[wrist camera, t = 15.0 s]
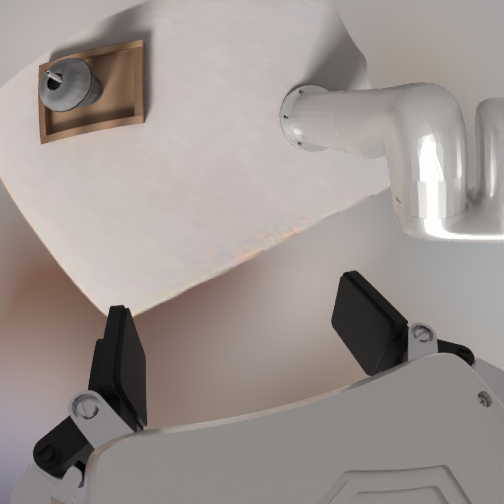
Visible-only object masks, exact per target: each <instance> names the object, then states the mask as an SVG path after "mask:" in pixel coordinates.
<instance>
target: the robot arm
mask: <svg viewBox="0 0 504 504" xmlns="http://www.w3.org/2000/svg"><path fill="white" fill-rule="evenodd" d="M299 91H300V93H299ZM284 115H285V116H286V117H285V118H284ZM280 122H281V127H282V130H283V132H284V134H285V136H286V137H287V139H288V140H289V141H290V142H291V143H292V144H293V145H295V146H296V147H298V148H300V149H303V150H306V151H310V152H317V151H322V150H325V149H327V148H331V149H334V150H338V151H341V152H345V153H348V154H352V155H355V156H359V157H362V158H367V159H374V158H379V157H382V156H385V155H386V158H387V165H388V169H389V175H390V182H391V190H392V199H393V207H394V214H395V218H396V221H397V223H398V225H399V226H400V228H401V229H402V230H403V231H404V232H406V233H407V234H409V235H410V236H412V237H415V238H418V239H422V240H428V241H437V242H471V243H504V98H490V99H486V100H484V101H482V102H480V103H479V105H478V107H477V109H476V114H475V136H476V163H477V179H476V186H475V187H473V188H470V189H468V149H467V135H466V128H465V122H464V118H463V114H462V111H461V108H460V106H459V104H458V102H457V100H456V99H455V97H454V96H453V95H452V93H451V92H450V91H448V90H447V89H446V88H444V87H442V86H440V85H437V84H434V83H425V82H420V83H410V84H404V85H399V86H395V87H389V88H382V89H368V90H344V91H328V90H327V89H325V88H323V87H320V86H316V85H307V86H302V87H299V88H297V89H295V90H293V91H292V92H291V93H290V94H288V96H287V97H286V98H285V100H284V102H283V104H282V107H281V111H280ZM298 142H299V144H298ZM331 323H332V326H333V328H334V329H335V330H336V332H337V333H338V335H339V336H340V337H341V339H342V340H343V342H344V343H345V345H346V346H347V347H348V349H349V350H350V351H351V353H352V354H353V356H354V357H355V359H356V360H357V361H358V363H359V364H360V366H361V367H362V369H363V370H364V371H365V373H366V374H367V375H370V376H371V377H368V378H366V379H363V380H361V381H358V382H356V383H353V384H350V385H347V386H345V387H342V388H339V389H336V390H333V391H330V392H327V393H324V394H321V395H318V396H315V397H312V398H308V399H305V400H302V401H298V402H295V403H291V404H287V405H284V406H280V407H276V408H272V409H268V410H264V411H260V412H255V413H251V414H246V415H241V416H236V417H231V418H226V419H220V420H214V421H208V422H202V423H196V424H188V425H181V426H172V427H165V428H158V429H149V430H145V431H143V426H147V410H146V409H147V408H146V359H145V353H144V350H143V348H142V345H141V342H140V340H139V337H138V333H137V331H136V328H135V325H134V322H133V318H132V315H131V312H130V309H129V308H125V307H124V305H118V306H111V307H110V309H109V314H108V319H107V324H106V328H105V334H104V338H103V339H98V340H97V342H96V345H95V351H94V356H93V361H92V367H91V373H90V379H89V386H88V390H86V391H81V392H79V393H77V394H76V395H74V396H73V398H72V399H71V400H70V402H69V406H68V410H69V414H70V416H68V417H67V418H66V419H65V420H64V421H62V422H61V423H60V424H59V425H57V426H56V427H55V428H54V429H53V430H51V431H50V432H49V433H48V434H47V435H45V436H44V437H43V438H42V439H40V440H39V441H38V442H37V443H36V445H35V447H34V450H33V457H34V460H35V461H34V463H33V464H32V465H31V464H29V465H28V466H27V468H26V470H25V472H24V473H23V475H22V476H21V478H20V480H19V482H18V483H17V485H16V487H15V489H14V490H13V492H12V494H11V498H10V499H11V504H72V503H73V500H74V499H75V497H76V496H75V495H74V493H75V491H76V489H77V488H80V487H83V486H84V491H83V493H84V495H83V497H84V504H504V371H502V370H501V369H499V368H497V367H495V366H493V365H491V364H489V363H487V362H485V361H483V360H481V359H479V358H476V360H475V358H474V355H473V353H472V352H471V350H470V349H468V348H467V347H465V346H463V345H459V344H454V343H450V342H446V341H442V340H439V339H437V337H436V333H435V332H434V330H433V329H432V328H431V327H429V326H428V325H426V324H422V323H415V324H412V325H411V326H410V327H408V326H407V323H408V321H407V320H406V319H405V318H404V317H403V316H402V315H401V314H400V313H399V312H398V311H397V310H396V309H395V308H394V307H393V306H392V305H391V304H390V303H389V302H388V301H387V300H386V299H385V298H384V297H383V296H382V295H381V294H380V293H379V292H378V291H377V290H376V289H375V288H374V287H373V286H372V285H371V284H370V283H369V282H368V281H367V280H366V279H365V278H364V277H363V276H362V275H361V274H359V273H358V272H357V271H350V272H345V273H344V274H343V276H341V278H340V282H339V287H338V292H337V296H336V301H335V306H334V310H333V315H332V319H331Z"/></svg>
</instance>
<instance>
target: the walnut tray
mask: <svg viewBox="0 0 504 504" xmlns="http://www.w3.org/2000/svg"><path fill="white" fill-rule="evenodd" d="M65 58H80V59H82V60H84V61H86V62H87V63H88V65H89V66H90V67H91V71H92V72H93V73H94V74H95V75H96V76H97V77H98V78H99V80H100V81H101V83H102V84H103V87H104V88H103V94H102V96H101V98H100V99H99V100H98V101H97V102H96V103H93V104H90V105H86V106H80V107H76V108H74V109H72V110H70V111H67V112H62V113H61V112H55V111H53V110H51V109H50V108H48V107H46V106H45V105H44V103H43V102H42V100H41V98H40V94H39V86H38V101H39V126H40V139H41V144H45V143H48V142H52V141H55V140H59V139H63V138H67V137H71V136H75V135H80V134H84V133H88V132H93V131H98V130H103V129H108V128H114V127H120V126H126V125H132V124H139V123H145V117H144V42H143V40H137V41H130V42H124V43H119V44H114V45H109V46H104V47H100V48H95V49H91V50H87V51H83V52H80V53H76V54H72V55H69V56H66V57H62V58H59V59H56V60H53V61H50V62H47V63H45V64H42V65H39V85H40V82H41V79H42V77H43V75H44V73H45V72H46V70H47V69H48V68H49V67H50V66H51V65H52V64H54V63H56V62H57V61H59V60H61V59H65Z"/></svg>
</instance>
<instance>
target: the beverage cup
mask: <svg viewBox="0 0 504 504" xmlns="http://www.w3.org/2000/svg"><path fill="white" fill-rule="evenodd" d="M103 88H104V87H103V84H102V83H101V81H100V80H99V78H98V77H97V76H96V75H95V74H94V73H93V72H92V71H91V67H90V66H89V65H88V63H87V62H86V61H84V60H82V59H80V58H65V59H61V60H59V61H57V62H56V63H54V64H52V65H51V66H50V67H49V68H48V69H47V70H46V72H45V73H44V75H43V77H42V79H41V82H40V85H39V94H40V98H41V100H42V102H43V103H44V105H45V106H46V107H48V108H50V109H51V110H53V111H55V112H61V113H62V112H67V111H70V110H72V109H74V108H76V107H80V106H86V105H90V104H93V103H96V102H97V101H98V100H99V99H100V98H101V96H102V94H103Z"/></svg>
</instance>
